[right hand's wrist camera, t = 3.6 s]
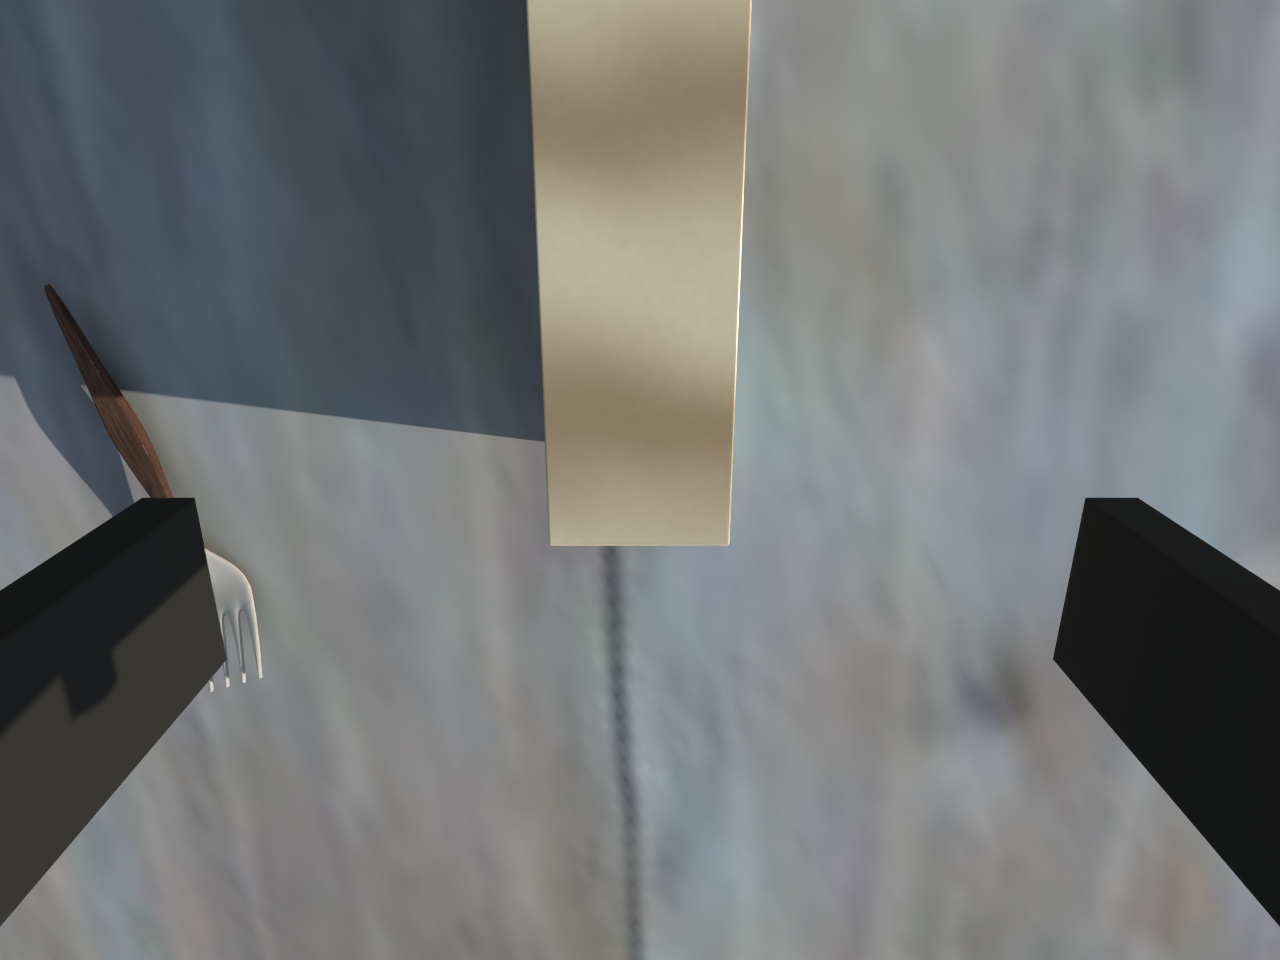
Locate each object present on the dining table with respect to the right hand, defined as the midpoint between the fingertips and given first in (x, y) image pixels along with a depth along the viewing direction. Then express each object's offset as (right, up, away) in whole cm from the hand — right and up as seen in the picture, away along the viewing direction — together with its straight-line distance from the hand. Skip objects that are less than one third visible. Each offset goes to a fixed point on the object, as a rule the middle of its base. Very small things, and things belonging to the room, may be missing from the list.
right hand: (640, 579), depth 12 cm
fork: (-18, +1, +19) cm, 27 cm away
